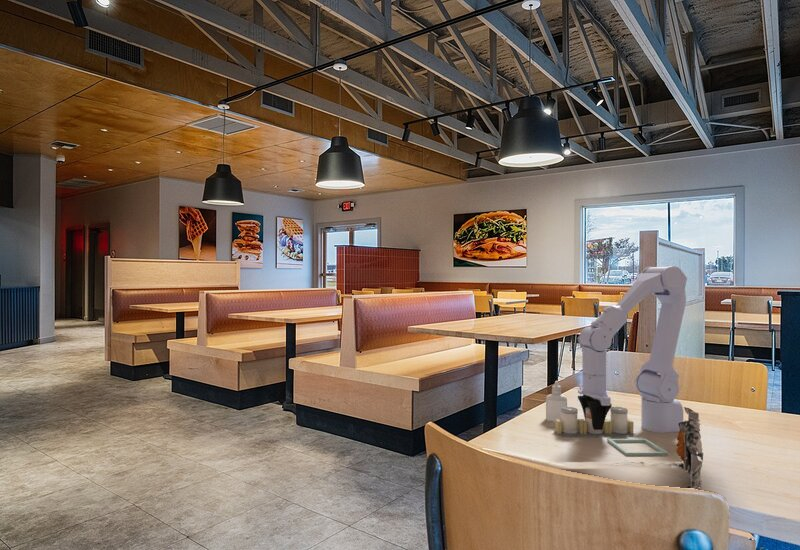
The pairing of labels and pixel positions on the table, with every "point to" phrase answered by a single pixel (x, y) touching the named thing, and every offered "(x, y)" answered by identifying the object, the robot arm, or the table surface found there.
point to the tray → (659, 453)
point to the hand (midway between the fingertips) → (594, 426)
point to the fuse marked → (589, 423)
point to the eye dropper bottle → (555, 403)
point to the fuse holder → (583, 433)
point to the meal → (690, 447)
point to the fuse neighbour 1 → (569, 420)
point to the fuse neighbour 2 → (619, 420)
